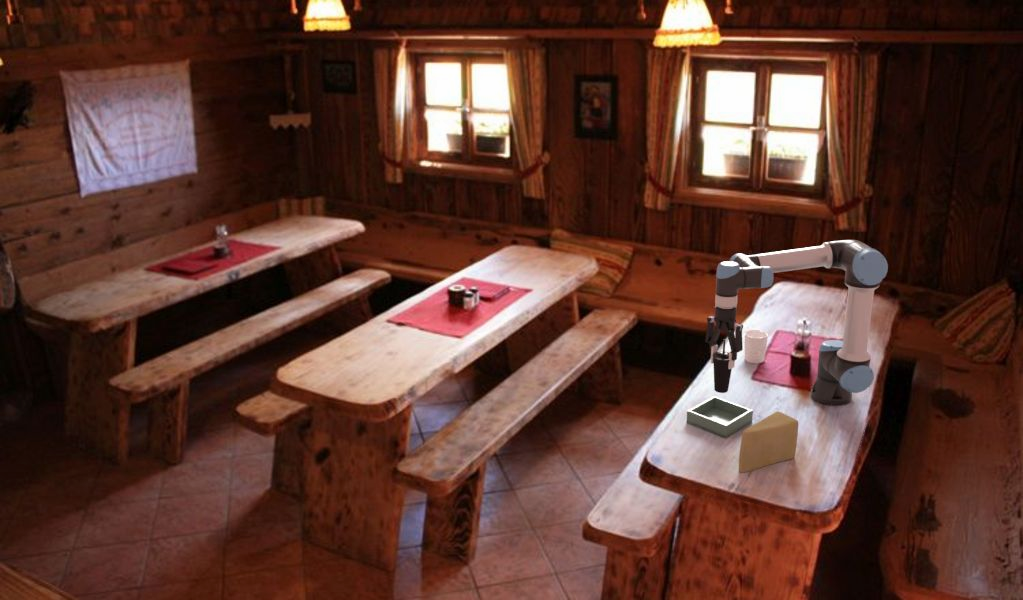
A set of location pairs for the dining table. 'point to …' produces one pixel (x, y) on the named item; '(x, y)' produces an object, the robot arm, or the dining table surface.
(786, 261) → the robot arm
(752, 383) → the dining table surface
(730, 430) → the grey-green shallow box
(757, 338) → the white cup
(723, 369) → the drinking cup
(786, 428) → the cheese
